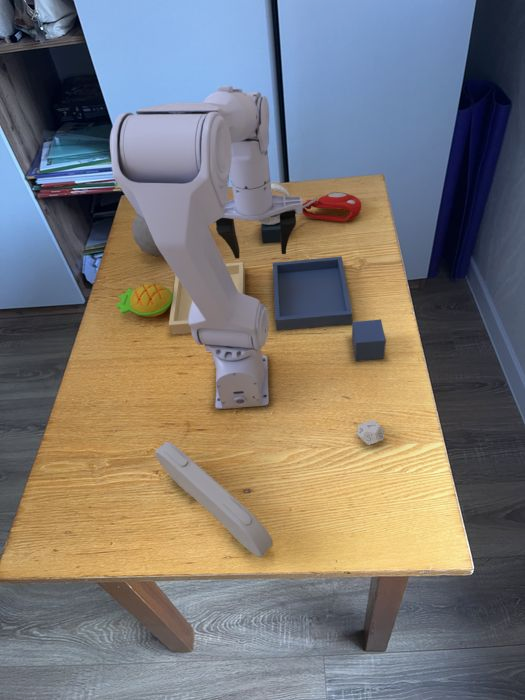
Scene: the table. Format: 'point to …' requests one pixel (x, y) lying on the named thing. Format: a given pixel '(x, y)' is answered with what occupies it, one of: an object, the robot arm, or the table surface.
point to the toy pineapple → (146, 300)
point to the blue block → (368, 340)
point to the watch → (273, 220)
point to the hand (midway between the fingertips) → (260, 252)
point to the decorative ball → (144, 236)
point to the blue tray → (311, 293)
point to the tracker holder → (333, 206)
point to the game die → (370, 432)
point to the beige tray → (184, 301)
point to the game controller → (215, 499)
